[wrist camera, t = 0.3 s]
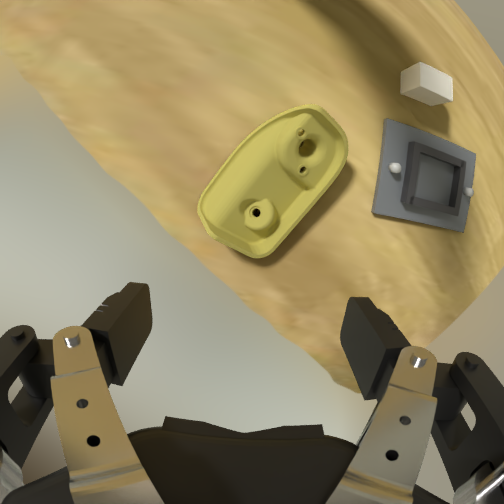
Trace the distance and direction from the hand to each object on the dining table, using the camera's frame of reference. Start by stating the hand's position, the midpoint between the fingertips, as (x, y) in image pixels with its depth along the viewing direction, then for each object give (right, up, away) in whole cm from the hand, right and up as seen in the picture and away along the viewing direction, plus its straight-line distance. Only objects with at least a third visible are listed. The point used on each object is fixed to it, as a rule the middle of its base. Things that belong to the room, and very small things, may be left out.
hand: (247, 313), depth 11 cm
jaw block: (+25, +27, +21) cm, 43 cm away
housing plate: (+28, +14, +25) cm, 40 cm away
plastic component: (+3, +12, +26) cm, 29 cm away
